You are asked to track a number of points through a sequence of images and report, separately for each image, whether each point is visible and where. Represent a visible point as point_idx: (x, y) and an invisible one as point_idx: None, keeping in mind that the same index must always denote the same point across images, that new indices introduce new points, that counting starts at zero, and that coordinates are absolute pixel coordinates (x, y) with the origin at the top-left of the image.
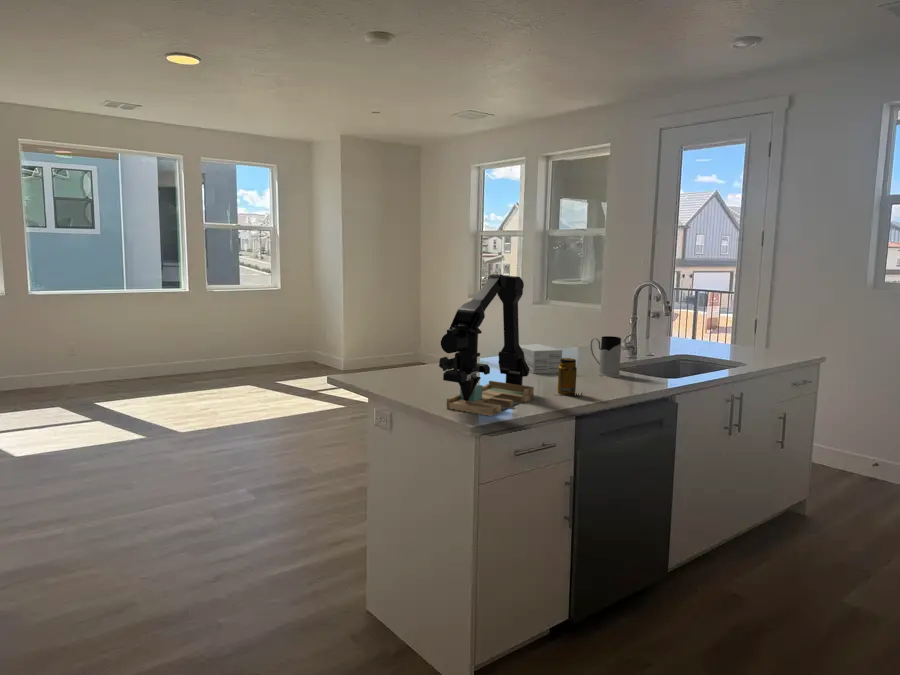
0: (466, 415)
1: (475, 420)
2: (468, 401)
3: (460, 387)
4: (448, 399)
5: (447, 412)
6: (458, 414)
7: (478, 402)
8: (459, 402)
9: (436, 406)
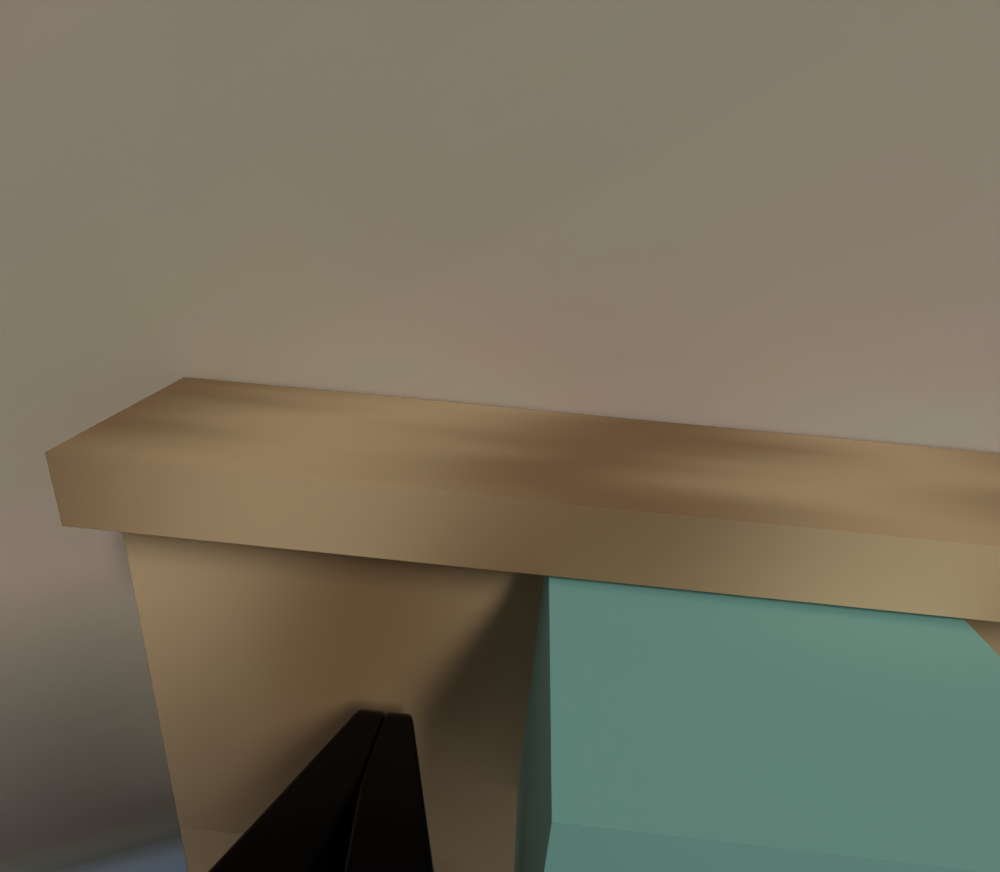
0: (90, 743)
1: (3, 865)
2: (438, 729)
3: (551, 772)
4: (63, 490)
5: (2, 494)
6: (47, 655)
7: (475, 858)
8: (260, 635)
9: (174, 115)
